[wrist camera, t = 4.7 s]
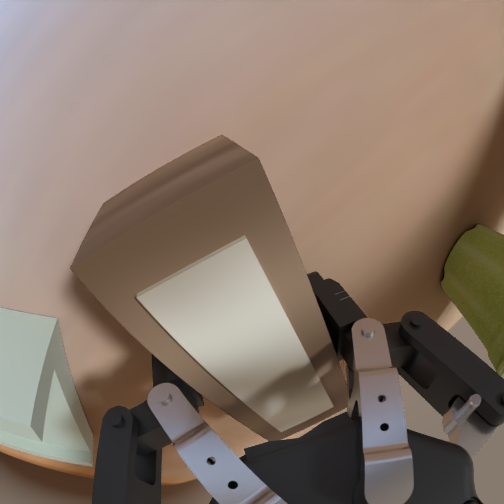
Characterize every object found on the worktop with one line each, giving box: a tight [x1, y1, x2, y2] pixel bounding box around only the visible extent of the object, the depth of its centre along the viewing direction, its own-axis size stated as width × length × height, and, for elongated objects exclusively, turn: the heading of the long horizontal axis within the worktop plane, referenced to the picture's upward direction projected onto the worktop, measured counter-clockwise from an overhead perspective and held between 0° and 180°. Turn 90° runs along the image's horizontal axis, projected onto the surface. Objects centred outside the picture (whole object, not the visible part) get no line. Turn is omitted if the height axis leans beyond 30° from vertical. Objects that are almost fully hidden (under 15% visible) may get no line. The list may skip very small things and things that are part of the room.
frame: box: [70, 135, 348, 441], centre depth 11 cm, size 14×5×5 cm, turn 24°
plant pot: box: [441, 224, 504, 376], centre depth 14 cm, size 9×9×9 cm
